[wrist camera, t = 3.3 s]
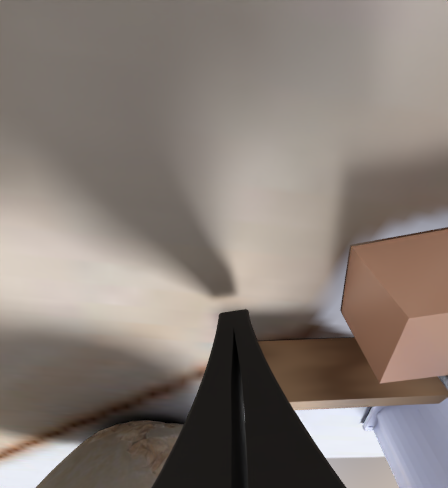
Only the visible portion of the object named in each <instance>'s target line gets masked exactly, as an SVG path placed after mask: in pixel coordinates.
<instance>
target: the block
mask: <svg viewBox="0 0 448 488" xmlns="http://www.w3.org/2000/svg"><path fill="white" fill-rule="evenodd" d="M340 311H341V312H342V315H343V316H344V318H345V320H346V322H347V324H348V326H349V328H350V330H351V331H352V333H353V335H354V337H355V339H356V341H357V343H358V344H359V346H360V348H361V350H362V352H363V354H364V356H365V357H366V359H367V361H368V363H369V365H370V367H371V369H372V371H373V372H374V374H375V376H376V378H377V380H378V382H379V384H380V383H388V382H396V381H404V380H412V379H420V378H428V377H437V376H445V375H448V227H445V228H440V229H434V230H429V231H423V232H418V233H412V234H407V235H401V236H396V237H390V238H385V239H379V240H374V241H373V242H371V243H368V244H362V245H357V246H351V252H350V258H349V262H348V263H347V268H346V275H345V282H344V289H343V295H342V302H341V309H340Z"/></svg>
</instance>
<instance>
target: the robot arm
mask: <svg viewBox="0 0 448 488" xmlns="http://www.w3.org/2000/svg"><path fill="white" fill-rule="evenodd" d="M445 387H446V386H445ZM447 390H448V389H447ZM244 414H245V419H244ZM362 427H363V429H364V430H365V431H371V430H374V433H375V435H376V437H377V439H378V442H379V444H380V446H381V448H382V450H383V453H384V455H385V457H386V459H387V461H388V464H389V466H390V468H391V470H392V473H393V475H394V477H395V480H396V482H397V484H398V486H399V488H448V398H446V399H445V400H443V401H442V402H441V403H439V404H417V405H395V406H374V407H372V408H371V410H370V412H369V414H368V416H367V418H366V420H365V422H364V424H363V426H362ZM152 488H346V487H345V485H344V484H343V482H342V481H341V480H340V478H339V477H338V476H337V474H336V473H335V471H334V470H333V468H332V467H331V466H330V464H329V463H328V461H327V460H326V458H325V457H324V455H323V454H322V452H321V451H320V450H319V448H318V447H317V445H316V444H315V442H314V441H313V439H312V438H311V436H310V434H309V433H308V431H307V430H306V428H305V427H304V425H303V424H302V422H301V421H300V419H299V417H298V416H297V414H296V413H295V411H294V409H293V408H292V406H291V404H290V403H289V401H288V399H287V398H286V396H285V394H284V392H283V391H282V389H281V387H280V385H279V384H278V382H277V380H276V378H275V376H274V374H273V372H272V371H271V369H270V367H269V365H268V363H267V361H266V359H265V357H264V354H263V352H262V350H261V348H260V345H259V343H258V341H257V338H256V336H255V333H254V330H253V328H252V325H251V321H250V317H249V312H248V310H246V309H245V310H238V311H231V312H225V313H220V314H219V319H218V325H217V330H216V335H215V339H214V343H213V347H212V350H211V354H210V357H209V361H208V364H207V367H206V370H205V373H204V376H203V379H202V382H201V384H200V387H199V390H198V392H197V395H196V397H195V400H194V402H193V405H192V407H191V410H190V412H189V414H188V416H187V419H186V421H185V423H184V425H183V428H182V430H181V432H180V434H179V436H178V438H177V440H176V442H175V444H174V446H173V448H172V450H171V452H170V454H169V456H168V458H167V460H166V462H165V464H164V466H163V468H162V470H161V471H160V473H159V475H158V477H157V479H156V481H155V482H154V484H153V486H152Z"/></svg>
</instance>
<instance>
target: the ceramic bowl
mask: <svg viewBox="0 0 448 488" xmlns="http://www.w3.org/2000/svg"><path fill="white" fill-rule="evenodd" d="M183 425H184V424H178V423H166V424H165V423H164V422H159V421H150V420H141V421H131V422H127V423H121V424H116V425H114V426H111V427H109V428H105V429H103V430H100V431H99V432H97V433H95V434H94V435H93V436H91V437H90V438H88V439H87V440H85V441H84V442H83V443H82V444H80V445H79V446H78V447H77V448H76V449H75V450H74V451H72V452H71V453H70V454H69V455H68V456H67V457H66V458H65V459H64V460H63V461H62V462H61V463H59V464H58V465H57V466H56V467H55V468H54V469H53V470H52V471H51V472H50V473H49V474H48V475H47V476H46V477H45V478H44V479H43V480H42V482H41V483H40V484H39V485H38V486H37V487H36V488H152V486H153V484H154V482H155V481H156V479H157V477H158V475H159V473H160V471H161V470H162V468H163V466H164V464H165V462H166V460H167V458H168V456H169V454H170V452H171V450H172V448H173V446H174V444H175V442H176V440H177V438H178V436H179V434H180V432H181V430H182V428H183Z"/></svg>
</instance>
